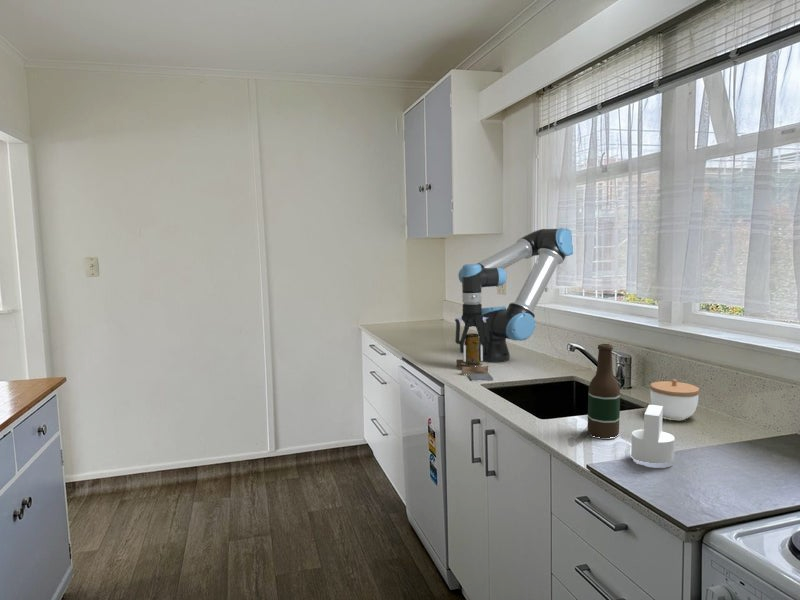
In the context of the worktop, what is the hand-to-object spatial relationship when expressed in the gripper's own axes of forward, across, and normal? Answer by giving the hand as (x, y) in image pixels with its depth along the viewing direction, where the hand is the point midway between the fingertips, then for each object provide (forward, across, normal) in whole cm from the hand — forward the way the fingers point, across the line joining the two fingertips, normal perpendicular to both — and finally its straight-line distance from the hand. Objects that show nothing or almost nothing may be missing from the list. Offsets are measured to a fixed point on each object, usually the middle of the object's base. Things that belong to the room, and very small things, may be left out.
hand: (472, 360), depth 222 cm
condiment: (+2, 0, 0) cm, 2 cm away
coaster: (+4, 0, -13) cm, 14 cm away
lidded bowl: (+4, +46, -65) cm, 80 cm away
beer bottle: (+4, +20, -78) cm, 81 cm away
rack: (+4, 0, 0) cm, 4 cm away
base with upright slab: (+4, +24, -96) cm, 99 cm away
